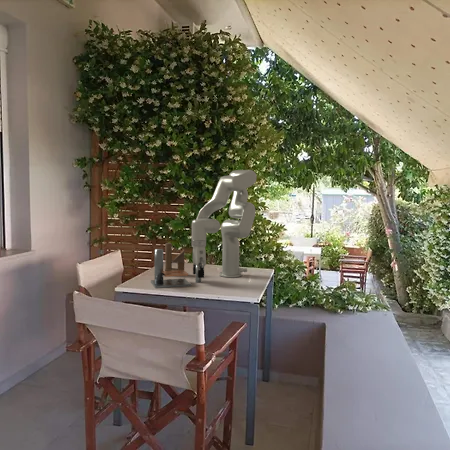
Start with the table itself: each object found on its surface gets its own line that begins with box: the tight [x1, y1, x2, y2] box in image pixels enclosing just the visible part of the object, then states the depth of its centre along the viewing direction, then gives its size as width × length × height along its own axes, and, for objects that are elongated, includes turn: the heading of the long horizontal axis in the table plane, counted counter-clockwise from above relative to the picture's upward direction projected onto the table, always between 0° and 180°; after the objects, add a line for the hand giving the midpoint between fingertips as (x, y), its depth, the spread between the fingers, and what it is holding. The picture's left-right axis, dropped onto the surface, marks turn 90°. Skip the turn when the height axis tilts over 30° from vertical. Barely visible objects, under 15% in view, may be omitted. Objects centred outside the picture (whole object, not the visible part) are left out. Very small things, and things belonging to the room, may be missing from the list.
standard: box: [150, 248, 192, 289], centre depth 225 cm, size 18×14×18 cm
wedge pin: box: [195, 265, 202, 284], centre depth 231 cm, size 3×3×10 cm
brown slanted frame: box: [164, 242, 185, 271], centre depth 249 cm, size 4×11×18 cm, turn 99°
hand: (198, 275), depth 231 cm, fingers open, 9 cm apart
